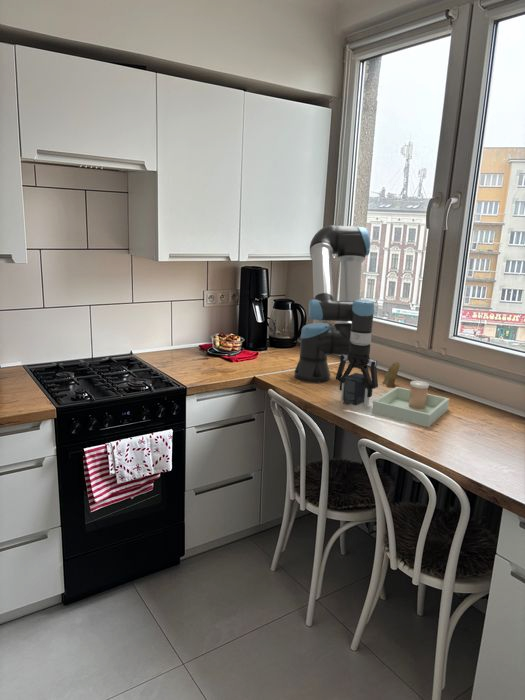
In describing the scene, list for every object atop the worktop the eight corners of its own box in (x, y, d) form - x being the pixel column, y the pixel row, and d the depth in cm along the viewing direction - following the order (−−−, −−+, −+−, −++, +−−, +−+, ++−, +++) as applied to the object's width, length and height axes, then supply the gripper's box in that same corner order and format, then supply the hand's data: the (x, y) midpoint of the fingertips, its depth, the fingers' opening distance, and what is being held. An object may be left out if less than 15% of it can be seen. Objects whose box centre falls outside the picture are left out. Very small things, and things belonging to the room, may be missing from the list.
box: (353, 398, 203) (355, 372, 201) (366, 402, 200) (369, 375, 197) (342, 403, 197) (344, 376, 195) (355, 407, 194) (358, 379, 191)
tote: (371, 414, 187) (373, 401, 186) (395, 399, 205) (396, 386, 204) (428, 429, 176) (429, 415, 175) (447, 411, 194) (449, 398, 193)
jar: (404, 406, 195) (407, 383, 193) (411, 401, 200) (413, 379, 198) (422, 410, 191) (425, 387, 189) (428, 406, 196) (431, 383, 194)
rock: (397, 386, 213) (408, 378, 220) (386, 367, 214) (398, 360, 221) (377, 396, 221) (389, 387, 228) (367, 378, 222) (378, 370, 229)
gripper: (328, 339, 196) (324, 398, 201) (383, 349, 184) (377, 411, 189) (338, 336, 202) (333, 393, 207) (392, 346, 190) (385, 406, 195)
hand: (354, 402), depth 198 cm, fingers open, 9 cm apart
